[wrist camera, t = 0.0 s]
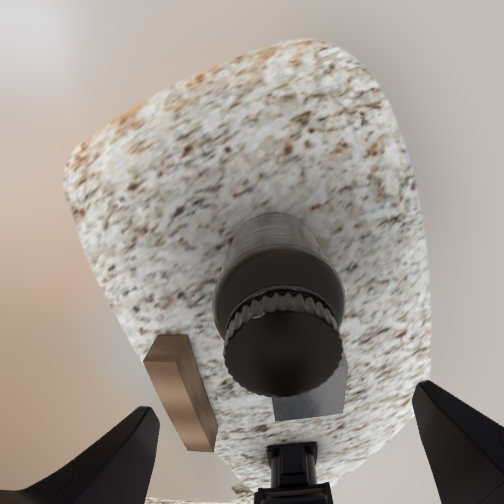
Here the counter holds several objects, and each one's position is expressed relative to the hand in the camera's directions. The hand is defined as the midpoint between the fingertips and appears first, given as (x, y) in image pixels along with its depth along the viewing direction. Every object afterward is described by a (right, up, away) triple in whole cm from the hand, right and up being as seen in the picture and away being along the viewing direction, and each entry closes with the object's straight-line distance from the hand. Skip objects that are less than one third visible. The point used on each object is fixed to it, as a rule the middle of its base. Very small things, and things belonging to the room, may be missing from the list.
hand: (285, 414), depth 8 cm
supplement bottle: (+1, +5, +14) cm, 15 cm away
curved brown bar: (-7, -9, +19) cm, 22 cm away
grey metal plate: (+4, -8, +18) cm, 20 cm away
